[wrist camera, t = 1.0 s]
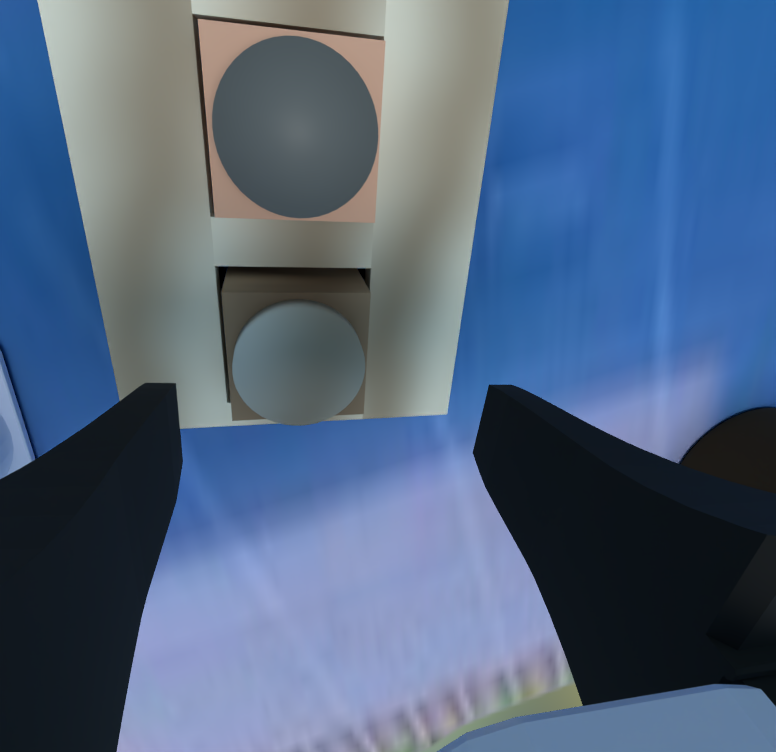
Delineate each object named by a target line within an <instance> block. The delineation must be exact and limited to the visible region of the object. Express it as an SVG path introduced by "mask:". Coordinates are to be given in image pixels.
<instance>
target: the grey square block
mask: <svg viewBox="0 0 776 752" xmlns="http://www.w3.org/2000/svg"><path fill="white" fill-rule="evenodd" d="M508 3H509V0H38V5H39V10H40V15H41V20H42V25H43V29H44V34H45V39H46V44H47V49H48V54H49V59H50V63H51V68H52V73H53V78H54V83H55V88H56V93H57V98H58V102H59V107H60V112H61V117H62V122H63V127H64V132H65V136H66V141H67V146H68V151H69V156H70V161H71V166H72V171H73V175H74V180H75V185H76V190H77V195H78V200H79V205H80V209H81V214H82V219H83V224H84V229H85V234H86V239H87V244H88V248H89V253H90V258H91V263H92V268H93V273H94V278H95V282H96V287H97V292H98V297H99V302H100V307H101V312H102V317H103V321H104V326H105V331H106V336H107V341H108V346H109V351H110V355H111V360H112V365H113V370H114V375H115V380H116V385H117V390H118V394H119V399H120V401H121V400H122V399H123V398H125V397H126V396H127V395H129V394H130V393H131V392H133V391H134V390H135V389H137V388H138V387H139V386H141V385H142V384H144V383H176V389H177V401H178V412H179V424H180V429H184V428H203V427H221V426H240V425H258V424H277V423H276V422H273V421H270V420H268V419H259V420H240V421H232V412H231V400H230V388H229V377H228V365H227V356H226V349H225V337H224V325H223V314H222V302H221V291H220V279H219V268H218V266H243V267H315V268H366V269H365V283H366V285H367V287H368V289H369V291H370V292H371V299H370V316H369V333H368V350H367V367H366V384H365V401H364V414H356V415H337V416H333V417H331V418H329V419H326V420H324V421H333V420H352V419H370V418H389V417H407V416H426V415H445V414H447V411H448V404H449V398H450V391H451V384H452V378H453V371H454V364H455V358H456V351H457V344H458V338H459V331H460V324H461V318H462V311H463V304H464V297H465V291H466V284H467V277H468V271H469V264H470V257H471V251H472V244H473V237H474V231H475V224H476V217H477V211H478V204H479V197H480V191H481V184H482V177H483V170H484V164H485V157H486V150H487V144H488V137H489V130H490V124H491V117H492V110H493V104H494V97H495V90H496V84H497V77H498V70H499V63H500V57H501V50H502V43H503V37H504V30H505V23H506V17H507V10H508ZM198 19H204V20H213V21H221V22H230V23H238V24H247V25H255V26H264V27H272V28H281V29H289V30H298V31H306V32H315V33H323V34H332V35H340V36H349V37H357V38H366V39H375V40H383V41H386V42H385V59H384V76H383V93H382V110H381V127H380V144H379V162H378V179H377V196H376V213H375V223H360V222H331V221H302V220H273V219H244V218H215V214H214V210H213V198H212V187H211V175H210V164H209V152H208V141H207V129H206V118H205V106H204V95H203V83H202V72H201V60H200V48H199V37H198V25H197V20H198Z"/></svg>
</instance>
